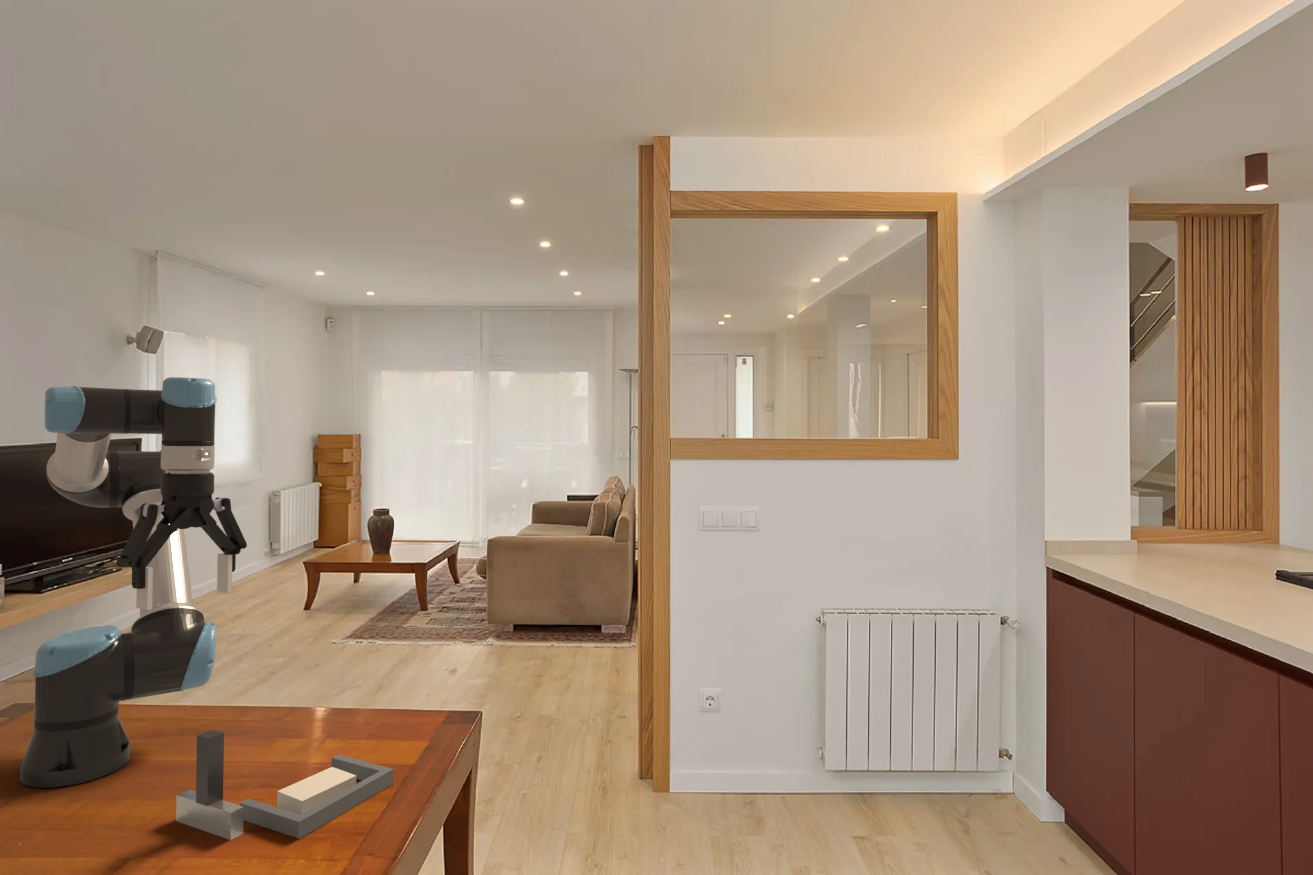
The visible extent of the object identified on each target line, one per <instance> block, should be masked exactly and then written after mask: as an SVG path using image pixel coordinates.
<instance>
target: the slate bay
mask: <svg viewBox="0 0 1313 875" xmlns="http://www.w3.org/2000/svg"><path fill="white" fill-rule="evenodd" d="M330 762H331V764H330V765H331V766H330V767H334V768H337V769H340V770H343V771H345V772H348V773H351V774H354V775H356V780H358V781H359V782H356V784H355V785H354V786H352V787H350V788H348V789H346V790H345V791H343V792H341V793H339V794H337V795H335V796H334V797H332V798H330V799H328V800H326V801H325V802H323V803H321V804H319V805H317V806H315V807H314V808H312V809H310V810H308V811H306V812H305V813H303V814H301V815H300V814H296V813H293V812H290V811H287V810H284V809H281V808H277V806H275V805H270V804H269V803H268V804H267V803H264V802H262V801H257V800H254V799H251V798H246V799H245V800H242V801H241V802H239V805H240V806H243V807H244V811H243V822H244V821H245V822H247V823H250V824H253V825H257V826H259V827H263V828H265V829H268V830H271V831H275V832H278V833H281V834H283V835H287V836H289V837H293V838H295V839H297V840H298V839H301V838H304V837H305V836H306V835H308V834H310V833H311V832H314V831H316V830H317V829H318V828H320V827H322V826H323V825H325V824H327V823H329V822H330V821H332V820H334V819H336V818H337V817H339V816H341V815H343V814H344V813H346V812H347V811H349V810H351V809H353V808H354V807H356V806H357V805H360V804H361V803H364V801H367V800H368V799H371V797H373V796H375V795H377V794H378V793H381V792H382V791H383V790H385V789H387V788H388V787H390V786H392V785H393V784H394V770H395V769H394V768H391V767H388V766H384V765H380V764H376V763H372V762H370V761H369V762H368V761H365V760H361V759H357V758H354V757H349V756H345V755H342V754H336V755H335V756H332V757H331V760H330Z"/></svg>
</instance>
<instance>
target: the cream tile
mask: <svg viewBox="0 0 1313 875" xmlns="http://www.w3.org/2000/svg"><path fill="white" fill-rule="evenodd" d="M355 784H357V779H356V775H354V774H351V773H348V772H345V771H343V770H340V769H337V768H334V767H331V766H330V767H329V768H326V769H324V770H322V771H319V772H317V773H315V774H312V775H310V776H308V777H306V778H304V779H302V780H299V781H297V782H294V783H293V784H291V785H288V786H286V787H283V788H282V789H279V790H277V791H276V792H277V799H276V800H277V802H276V807H277V808H281V809H284V810H287V811H290V812H293V813H296V814H300V815H301V814H303V813H305V812H306V811H308V810H310V809H312V808H314V807H315V806H317V805H319V804H321V803H323V802H325V801H326V800H328V799H330V798H332V797H334V796H335V795H337V794H339V793H341V792H343V791H345V790H346V789H348V788H350V787H352V786H354V785H355Z"/></svg>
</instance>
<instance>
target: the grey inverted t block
mask: <svg viewBox="0 0 1313 875" xmlns="http://www.w3.org/2000/svg"><path fill="white" fill-rule="evenodd" d="M224 748H225V732H223V731H219V730H215V729H211V730H208V731H206V732H202V733H200V734H197V735H196V765H195V767H196V770H195V771H196V774H195V775H196V776H195V779H196V781H195V790H193V789H186V790H185V791H182V792H180V793H177V794H176V796H175V797H176V800H175V802H176V803H175V806H176V807H175V808H176V809H175V814H176V815H175V822H178V823H180V824H183V825H187V826H190V827H192V828H195V829H197V830H201V831H204V832H205V833H209V834H212V835H214V836H218V837H220V838H223V839H226V840H228V841H232V840H233V839H235V838H237V837H239V836H241V835H243V834H244V820H243V811H244V807H243V806H240V804H236V803H233V802H230V801H227V800H224V763H225V762H224V761H225V760H224V759H225V758H224V757H225V755H224V754H225V753H224V751H225V749H224Z"/></svg>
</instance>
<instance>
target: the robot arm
mask: <svg viewBox="0 0 1313 875" xmlns="http://www.w3.org/2000/svg"><path fill="white" fill-rule="evenodd" d="M44 398H45V399H44V427H45V428H44V429H45V430H46V431H48V432H49V433H53V434H54V433H56V443H55V444H56V445H55V449H54V451H55V452H54V453H52V455H51V456H50V458H49V459H48V461H47V463H46V468H45V470H46V472H45V473H46V477H47V478H46V479H47V481H48V483H49V484H50V487H51V488H52V489H53V490H54V491H56V492H57V494H59V495H61V496H62V497H64V498H66V499H68V500H70V501H71V502H74V503H76V504H79V505H82V506H85V507H86V506H87V507H92V508H101V509H102V508H104V509H106V508H121V509H122V513H123V515H124V517H126V518H127V519H128V520H130V521H131V522H132V527H133V528H132V530H131V531H132V532H131V534H130V535H129V537H128V540H127V541H126V544H125V545H124V548H123V549H122V551H121V554H120V556H119V558H118V560H117V564H119V565H122V566H126V567H130V568H131V587H132V589H136V597H135V598H136V602H135V603H136V605H135V606H136V607H135V608H136V609H139V614H140V615H139V617H138V618H137V619H136V620H135V621H133V623H132V624H131V629H130V630H131V632H126V633H122V631H121V630H120V628H119V627H118V626H116V625H103V626H101V625H100V626H99V625H98V626H90V627H85V628H80V629H77V630H72V631H70V632H66V633H62V634H59V635H58V636H55V637H53V638H51V639H49V640H46V641H45V642H44V643H42V644H41V645H40V646H39V648H38V649H37V650H36V653H35V662H34V669H33V672H32V675H33V677H34V683H35V684H34V707H33V708H34V711H33V713H34V714H33V715H34V717H33V718H34V720H33V733H32V735H31V737H30V740H29V743H28V745H27V748H26V750H25V753H24V755H23V758H22V761H21V763H20V766H19V767H20V768H19V781H20V783H21V784H23V785H25V786H27V787H31V788H37V789H38V788H39V789H41V788H42V789H46V788H51V789H52V788H61V787H66V786H67V787H68V786H74V785H77V784H83V783H86V782H90V781H94V780H96V779H99V778H102V777H104V776H108V775H110V774H113V773H114V772H116V771H119V770H120V769H121V768H123V767H124V766H125V765H126V764H127V763H129V761H130V759H131V744H130V740H129V739H128V736H127V734H126V731H125V729H124V726H123V724H122V722H121V719H120V714H119V709H120V708H119V707H120V706H119V704H120V702H124V701H129V700H134V699H139V698H145V697H153V696H157V695H164V694H165V695H166V694H170V693H175V692H180V693H181V692H184V691H186V690H190V689H195V688H200V687H203V686H204V685H206V684H207V683H208V682H209V681H210V679H211V677H212V675H213V670H214V664H215V658H216V650H217V648H216V646H217V626H216V623H215V622H212V621H206V622H205V616H204V614H203V611H201V610H200V609H198V608H196V607H194V602H193V596H192V587H191V577H190V569H189V562H188V553H187V552H188V551H187V546H186V544H187V543H186V536H185V530H187V529H189V528H190V529H191V528H195V529H197V528H201V529H202V530H203V531H204V532H205V534H206V535H207V536H208V537H209V538H210V540H211V541H212V542H213V543H214V544H215V545H216V546H217V547H218V548H219V549H220V550H221V552H223V553H217V562H216V563H217V564H216V566H217V567H216V570H217V572H216V573H217V575H216V578H217V579H216V580H217V581H216V592H217V593H223V594H230V593H233V583H232V582H233V573H234V572H235V571H236V562H237V561H236V557H237V556H236V555H239V554H240V553H241V551H242V550H244V549H246V548H247V547H248V544H247V541H246V539H245V537H244V535H243V533H242V530H241V529H240V526H239V524H238V521H237V519H236V517H235V515H234V513H233V511H232V504H231V502H232V501H231V499H230V498H229V497H218V496H217V497H215V499H213V494H214V493H215V474H214V473H213V472H211V470H213V469H214V468H215V450H216V449H215V435H216V434H215V433H216V431H215V429H216V428H215V427H216V426H215V425H216V421H215V420H216V403H217V400H218V399H217V397H216V386H215V382H214V381H213V380H211V379H209V378H201V377H200V378H199V377H198V378H197V377H182V376H181V377H174V376H172V377H171V376H170V377H167V378H165V379H164V380H163V382H162V388H161V390H158V389H157V390H156V389H133V388H132V389H131V388H130V389H129V388H111V387H110V388H106V387H105V388H104V387H89V386H87V387H84V386H77V385H71V386H53V387H49V388H48V389H46V391H45V392H44ZM113 434H119V435H120V434H123V435H124V434H127V435H128V434H137V435H138V434H139V435H140V434H141V435H142V434H143V435H146V434H147V435H149V434H150V435H151V434H152V435H161V446H160V447H161V449H160V450H159V451H150V450H149V451H143V450H142V451H140V450H139V451H138V450H137V451H136V450H135V451H133V450H131V451H130V450H127V451H126V450H123V451H122V450H114V451H112V450H111V451H109V450H108V449H109V447H110V446H109V445H110V441H111V437H112V435H113ZM213 510H214V511H215V514H216V516H217V519H218V520H219V522H220V525H221V526H222V528H223V530H222V529H221V527H220V526H219V525H218V524H217V523H218V522H217V521H216V519H215V518H214V517H213V516H212V515H211V513H212V512H213Z"/></svg>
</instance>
